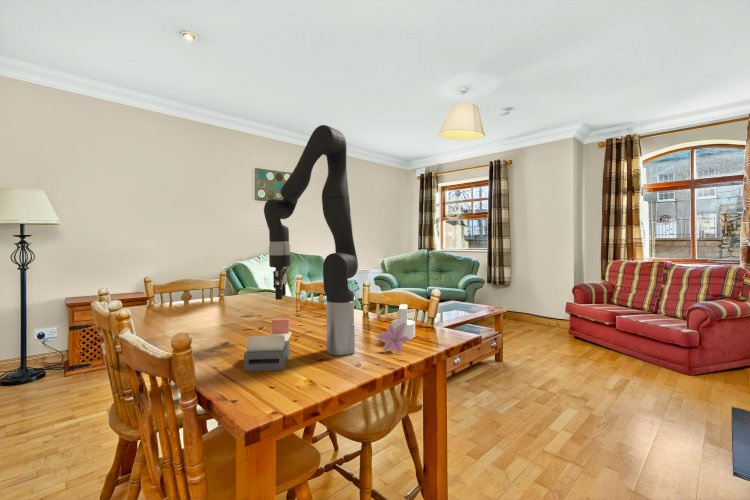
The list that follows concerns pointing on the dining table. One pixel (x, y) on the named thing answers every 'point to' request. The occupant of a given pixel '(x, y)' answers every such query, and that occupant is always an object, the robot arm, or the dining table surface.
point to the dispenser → (266, 353)
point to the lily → (394, 338)
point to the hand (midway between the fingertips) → (280, 297)
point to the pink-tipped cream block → (281, 328)
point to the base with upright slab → (410, 324)
